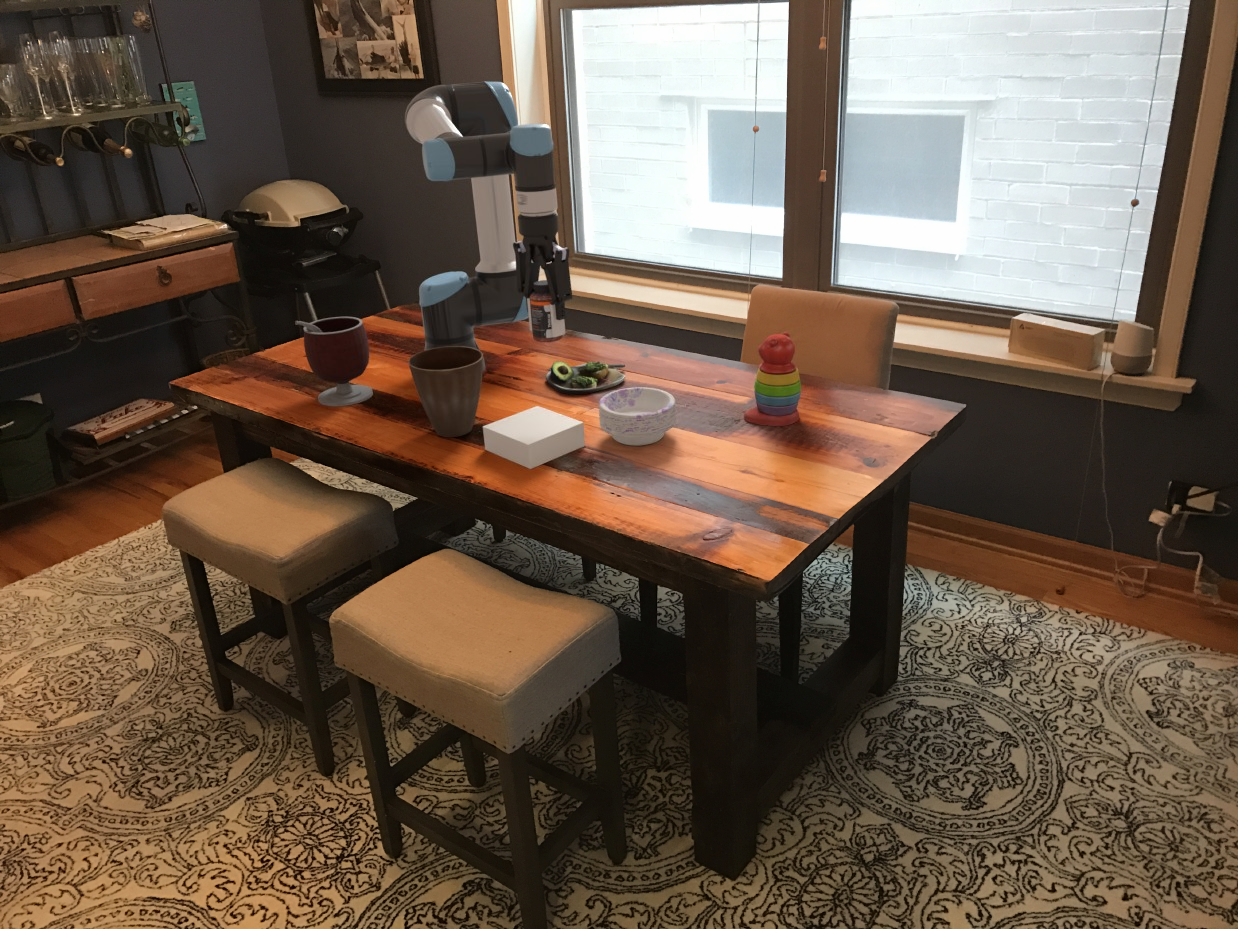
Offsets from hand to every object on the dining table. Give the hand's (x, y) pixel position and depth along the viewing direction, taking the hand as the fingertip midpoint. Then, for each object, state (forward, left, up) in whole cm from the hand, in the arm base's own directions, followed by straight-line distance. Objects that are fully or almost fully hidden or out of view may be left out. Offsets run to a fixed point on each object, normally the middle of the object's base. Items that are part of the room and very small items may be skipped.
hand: (547, 332), depth 193 cm
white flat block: (+3, -8, -21) cm, 23 cm away
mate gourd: (-54, -18, -21) cm, 61 cm away
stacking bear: (+30, +34, -21) cm, 50 cm away
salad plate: (-18, +24, -22) cm, 37 cm away
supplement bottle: (0, 0, -2) cm, 2 cm away
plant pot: (-17, -13, -21) cm, 30 cm away
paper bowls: (+15, +9, -21) cm, 28 cm away
